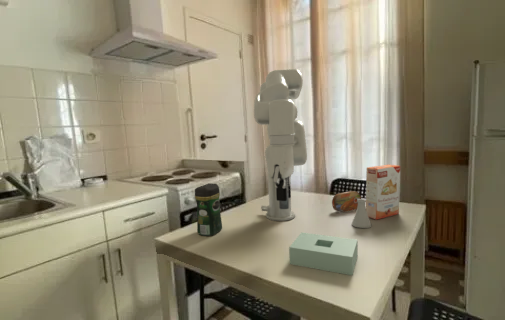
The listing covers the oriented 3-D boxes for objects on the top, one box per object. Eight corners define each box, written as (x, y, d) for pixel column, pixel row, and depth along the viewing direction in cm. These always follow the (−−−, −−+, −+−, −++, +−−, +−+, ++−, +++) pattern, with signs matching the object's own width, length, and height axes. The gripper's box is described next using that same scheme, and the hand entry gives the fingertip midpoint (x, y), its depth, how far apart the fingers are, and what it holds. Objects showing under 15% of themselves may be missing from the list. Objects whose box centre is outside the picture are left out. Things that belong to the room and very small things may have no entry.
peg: (277, 208, 89) (276, 177, 88) (281, 206, 92) (280, 175, 90) (287, 209, 88) (286, 177, 86) (290, 206, 90) (289, 176, 89)
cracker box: (377, 220, 113) (377, 168, 111) (365, 216, 118) (365, 167, 116) (400, 214, 119) (401, 165, 117) (387, 210, 125) (388, 163, 122)
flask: (373, 229, 105) (373, 202, 103) (352, 228, 106) (352, 202, 105) (369, 222, 112) (369, 197, 110) (350, 222, 113) (350, 197, 112)
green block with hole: (289, 263, 81) (289, 247, 80) (301, 247, 92) (301, 232, 91) (352, 275, 73) (352, 257, 73) (357, 255, 84) (357, 239, 84)
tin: (335, 214, 124) (335, 195, 123) (330, 212, 127) (330, 193, 126) (361, 208, 130) (361, 190, 129) (356, 207, 133) (356, 189, 132)
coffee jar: (208, 226, 115) (205, 181, 113) (225, 228, 111) (222, 182, 109) (193, 235, 106) (190, 186, 104) (211, 238, 103) (208, 187, 101)
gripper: (279, 139, 96) (281, 192, 98) (259, 143, 81) (262, 205, 84) (301, 138, 93) (302, 193, 95) (284, 142, 78) (286, 207, 80)
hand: (283, 198), depth 89 cm, fingers closed on peg, 3 cm apart
